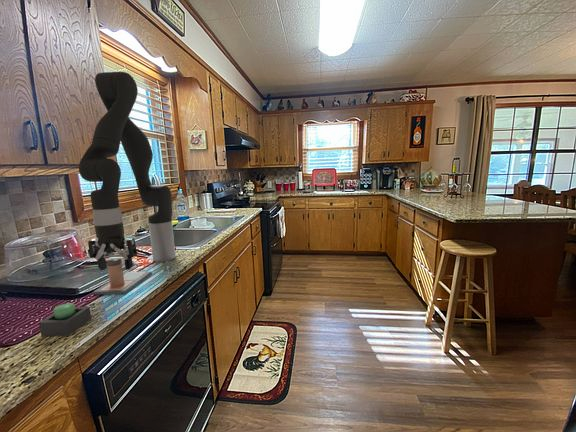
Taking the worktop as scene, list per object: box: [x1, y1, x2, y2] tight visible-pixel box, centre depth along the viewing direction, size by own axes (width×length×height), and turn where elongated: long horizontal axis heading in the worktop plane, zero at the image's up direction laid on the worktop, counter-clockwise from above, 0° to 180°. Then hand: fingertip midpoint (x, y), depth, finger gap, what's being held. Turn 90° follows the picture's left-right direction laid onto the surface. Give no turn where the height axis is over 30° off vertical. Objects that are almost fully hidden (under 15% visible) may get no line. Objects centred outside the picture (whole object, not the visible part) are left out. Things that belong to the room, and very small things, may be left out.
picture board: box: [93, 270, 153, 295], centre depth 87 cm, size 16×10×1 cm, turn 0°
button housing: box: [38, 306, 92, 337], centre depth 63 cm, size 7×7×4 cm
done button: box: [52, 302, 76, 319], centre depth 62 cm, size 4×4×2 cm
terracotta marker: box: [106, 257, 125, 288], centre depth 83 cm, size 4×4×9 cm
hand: (116, 269), depth 83 cm, fingers open, 8 cm apart
